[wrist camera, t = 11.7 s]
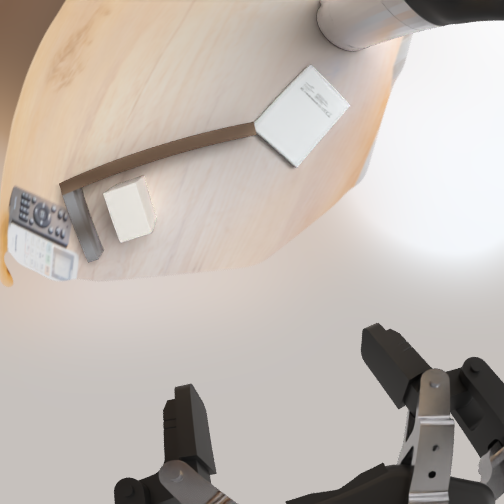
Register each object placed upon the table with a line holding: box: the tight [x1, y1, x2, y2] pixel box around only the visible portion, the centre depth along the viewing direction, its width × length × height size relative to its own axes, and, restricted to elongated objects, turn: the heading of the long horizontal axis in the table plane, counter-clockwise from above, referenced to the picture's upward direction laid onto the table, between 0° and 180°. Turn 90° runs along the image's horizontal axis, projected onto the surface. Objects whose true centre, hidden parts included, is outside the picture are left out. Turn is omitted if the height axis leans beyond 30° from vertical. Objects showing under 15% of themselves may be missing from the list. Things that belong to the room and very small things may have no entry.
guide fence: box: [59, 122, 257, 263], centre depth 33 cm, size 11×25×3 cm, turn 102°
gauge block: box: [103, 175, 157, 243], centre depth 31 cm, size 6×4×6 cm, turn 12°
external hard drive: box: [254, 65, 350, 168], centre depth 34 cm, size 2×8×12 cm
